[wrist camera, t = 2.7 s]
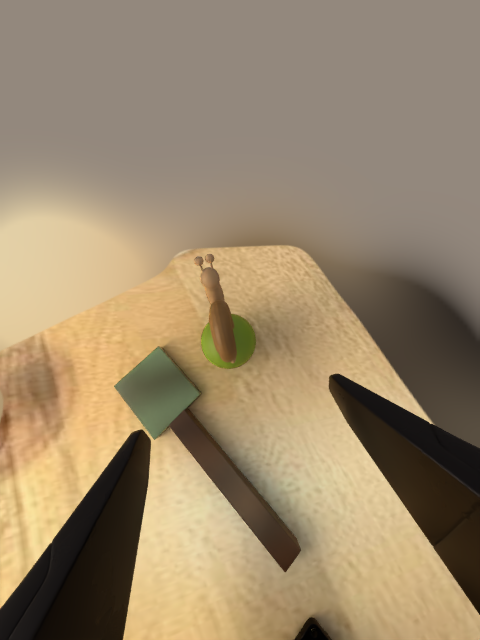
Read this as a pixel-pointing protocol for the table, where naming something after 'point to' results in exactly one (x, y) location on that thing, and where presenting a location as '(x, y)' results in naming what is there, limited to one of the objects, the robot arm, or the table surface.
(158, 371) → the spatula
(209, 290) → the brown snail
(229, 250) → the table surface
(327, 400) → the table surface
